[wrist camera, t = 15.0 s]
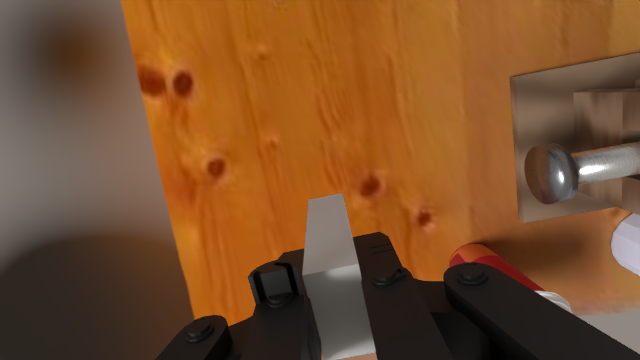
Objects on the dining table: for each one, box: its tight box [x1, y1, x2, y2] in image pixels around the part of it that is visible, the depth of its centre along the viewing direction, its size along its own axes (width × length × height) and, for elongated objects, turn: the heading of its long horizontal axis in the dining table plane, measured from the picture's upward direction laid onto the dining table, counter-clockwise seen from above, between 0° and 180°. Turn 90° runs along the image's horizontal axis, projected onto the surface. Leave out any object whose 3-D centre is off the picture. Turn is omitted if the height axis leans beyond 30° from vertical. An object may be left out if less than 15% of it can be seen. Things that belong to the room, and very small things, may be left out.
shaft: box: [524, 141, 640, 205], centre depth 34 cm, size 6×18×6 cm, turn 101°
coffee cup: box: [449, 243, 573, 314], centre depth 41 cm, size 8×8×15 cm
